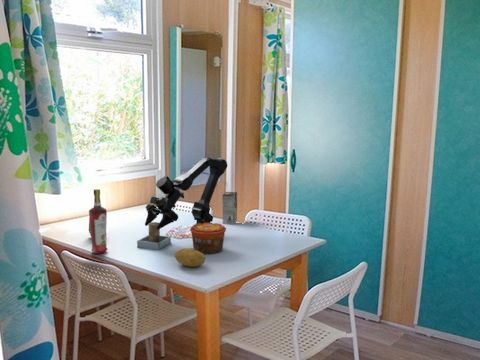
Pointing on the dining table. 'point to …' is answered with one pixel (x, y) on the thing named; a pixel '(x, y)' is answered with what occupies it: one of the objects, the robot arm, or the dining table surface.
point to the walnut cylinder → (154, 232)
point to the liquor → (98, 225)
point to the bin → (153, 245)
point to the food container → (208, 237)
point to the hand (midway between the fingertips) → (151, 227)
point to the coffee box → (229, 207)
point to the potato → (189, 257)
